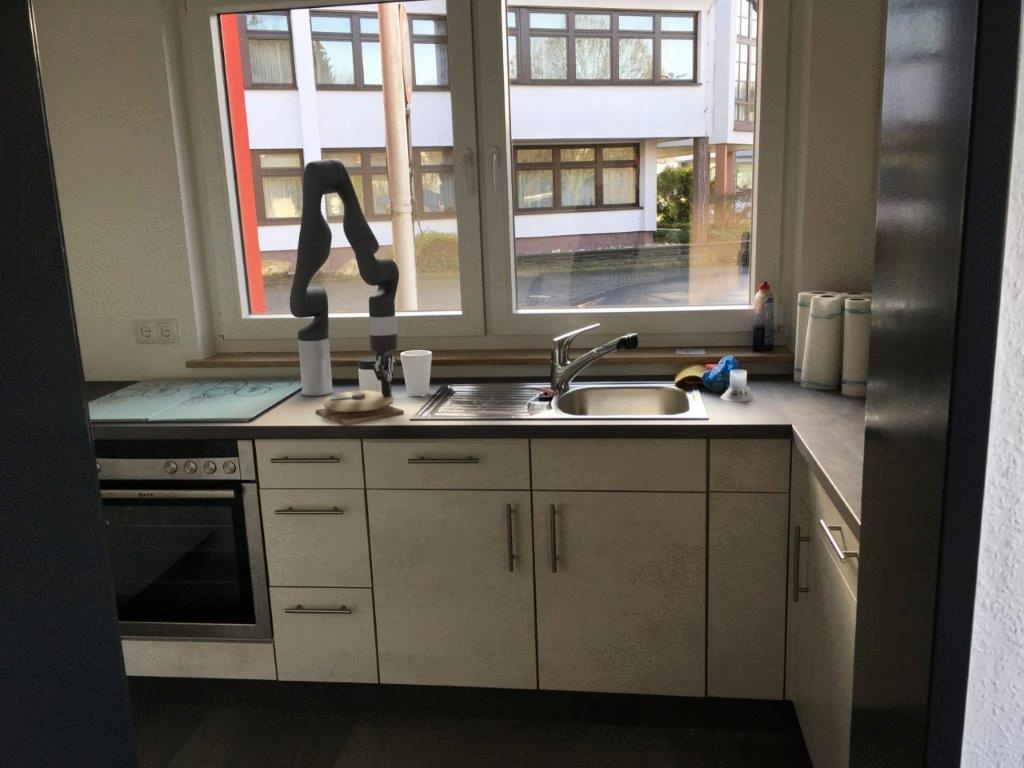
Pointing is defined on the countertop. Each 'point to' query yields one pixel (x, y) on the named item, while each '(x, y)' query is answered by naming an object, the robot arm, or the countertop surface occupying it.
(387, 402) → the handwheel
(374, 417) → the mount
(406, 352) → the foam cup
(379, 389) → the jar
